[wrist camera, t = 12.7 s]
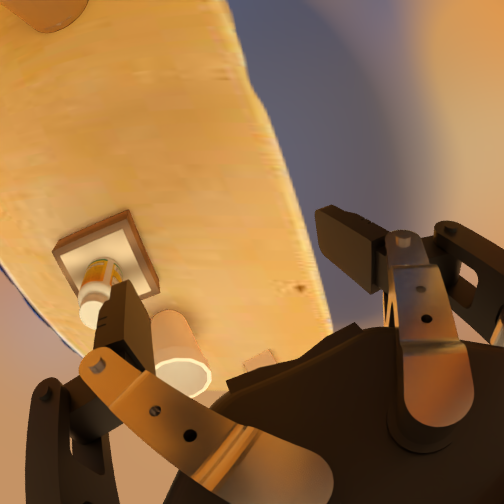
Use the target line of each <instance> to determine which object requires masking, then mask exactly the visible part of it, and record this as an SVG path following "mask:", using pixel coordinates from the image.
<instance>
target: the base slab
mask: <svg viewBox="0 0 504 504" xmlns="http://www.w3.org/2000/svg"><path fill="white" fill-rule="evenodd" d="M52 253H53V255H54V257H55V259H56V261H57V263H58V265H59V267H60V268H61V270H62V272H63V274H64V276H65V277H66V279H67V281H68V283H69V284H70V286H71V288H72V290H73V291H74V293H75V295H76V296H77V298H78V294H79V290H80V287H81V284H82V282H83V279H84V276H85V273H86V270H87V268H88V266H89V264H90V263H91V262H92V261H94V260H96V259H99V258H109V259H112V260H113V261H115V262H116V263H117V264H118V265H119V266H120V268H121V270H122V272H123V281H125V280H127V279H129V280H130V281H131V283H132V284H133V286H134V288H135V290H136V292H137V294H138V296H139V298H140V300H143V299H146V298H148V297H151V296H154V295H156V294H159V293H160V287H159V279H158V277H157V275H156V272H155V270H154V268H153V266H152V264H151V261H150V259H149V257H148V255H147V252H146V250H145V248H144V246H143V243H142V241H141V238H140V236H139V234H138V231H137V229H136V227H135V224H134V222H133V219H132V217H131V214H130V212H129V210H127V211H124V212H122V213H120V214H117V215H115V216H112V217H110V218H108V219H105V220H103V221H101V222H98V223H96V224H94V225H92V226H89V227H87V228H85V229H83V230H80V231H78V232H76V233H74V234H72V235H69V236H67V237H65V238H63V239H61V240H59V241H58V243H57V244H56V246H55V247H54V249H53V250H52Z"/></svg>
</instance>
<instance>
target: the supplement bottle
mask: <svg viewBox="0 0 504 504" xmlns="http://www.w3.org/2000/svg"><path fill="white" fill-rule="evenodd" d="M122 281H123V272H122V270H121V268H120V266H119V265H118V264H117V263H116V262H115V261H113V260H112V259H109V258H99V259H96V260H94V261H92V262H91V263H90V264H89V266H88V268H87V270H86V273H85V276H84V279H83V282H82V284H81V287H80V290H79V294H78V304H79V307H80V309H79V316H80V319H81V321H82V322H83V323H84V324H85V325H86V326H87V327H89V328H91V329H95V330H96V329H97V327H96V326H97V321H98V320H97V319H98V313H99V310H100V308H101V307H102V305H103V303H104V302H105V301H107V300H109V298H110V292H111V286H112V285H115V284H117V283H120V282H122Z"/></svg>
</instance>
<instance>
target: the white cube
mask: <svg viewBox="0 0 504 504" xmlns="http://www.w3.org/2000/svg"><path fill="white" fill-rule="evenodd" d="M243 363H244V365H245V367H246V370H247V372H249V371H252V370H254V369H257V368H259V367H264V366H269V365H273V364H277V363H276V361H275V360H274V358H273V356H272V354H271V353H270V351H269V349H268V350H266V351H264V352H263V353H261V354H259V355H257V356H255V357H253V358H251V359H249V360H247V361H245V362H243Z"/></svg>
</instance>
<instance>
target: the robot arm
mask: <svg viewBox="0 0 504 504" xmlns="http://www.w3.org/2000/svg"><path fill="white" fill-rule="evenodd" d="M87 2H88V0H0V3H1V4H2V5H4V6H5V7H6V8H8V9H9V10H10V11H12V12H13V13H14V14H16V15H17V16H18V17H20V18H21V19H22V20H24V21H25V22H26V23H27V24H29V25H30V26H31V27H33V28H34V29H35V30H37V31H39V32H43V33H50V32H54V31H57V30H60V29H62V28H64V27H66V26H67V25H69V24H70V23H72V22H73V21H74V20H75V19H76V18H77V17H78V16H79V15H80V14H81V13H82V11H83V10H84V8H85V6H86V5H87ZM315 221H316V229H317V236H318V243H319V247H320V250H321V252H322V253H323V255H324V256H325V257H326V258H328V259H329V260H330V261H331V262H332V263H334V264H335V265H336V266H337V267H339V268H340V269H341V270H342V271H343V272H344V273H346V274H347V275H348V276H349V277H350V278H352V279H353V280H354V281H355V282H356V283H357V284H359V285H360V286H361V287H362V288H363V289H364V290H366V291H367V292H368V293H369V294H373V293H375V292H377V291H379V290H380V289H382V290H383V314H384V315H383V316H384V327H373V328H368V329H363V330H362V329H361V328H360V327H359V326H358V325H357V324H356V323H355V322H354V323H352V324H350V325H348V326H346V327H344V328H343V329H341V330H339V331H337V332H335V333H333V334H331V335H329V336H327V337H325V338H324V339H323V340H322V341H320V342H319V343H318V344H317V345H315V346H314V347H313V348H312V349H310V350H309V351H308V352H306V353H305V354H304V355H303V356H301V357H300V358H298V359H295V360H291V361H287V362H282V363H278V364H273V365H269V366H264V367H259V368H257V369H254V370H252V371H249V372H247V373H244V374H242V375H239V376H237V377H234V378H232V379H229V380H226V383H227V386H228V388H229V391H228V392H227V393H225V394H224V395H223V396H221V397H220V398H219V399H218V400H216V402H215V403H213V405H211V407H210V408H207V407H205V406H203V405H202V404H200V403H198V402H197V401H195V400H193V399H192V398H190V397H188V396H187V395H185V394H183V393H182V392H180V391H178V390H177V389H175V388H173V387H172V386H170V385H169V384H167V383H166V382H164V381H163V380H161V379H159V378H158V377H156V371H155V362H154V353H153V344H152V333H151V322H150V318H149V315H148V313H147V311H146V309H145V307H144V305H143V303H142V301H141V300H140V298H139V296H138V294H137V292H136V290H135V288H134V286H133V284H132V283H131V281H130V280H129V279H127V280H125V281H122V282H120V283H117V284H115V285H112V286H111V292H110V298H109V300H107V301H105V302H104V303H103V305H102V307H101V308H100V310H99V313H98V319H97V320H98V321H97V326H96V327H97V329H96V332H95V339H94V347H93V350H92V351H91V352H89V353H88V354H87V355H86V356H85V357H84V358H83V360H82V361H81V363H80V366H79V376H77V377H76V378H74V379H72V380H71V381H69V382H68V383H66V384H64V385H62V383H61V382H60V381H59V380H58V379H56V378H53V377H51V378H47V379H45V380H43V381H42V382H40V383H39V384H38V386H37V387H36V388H35V390H34V392H33V394H32V398H31V405H30V413H29V421H28V431H27V442H26V463H25V492H26V504H120V503H119V497H118V492H117V488H116V482H115V476H114V470H113V464H112V457H111V450H110V442H109V433H108V432H110V431H111V430H113V429H115V428H116V427H118V426H119V425H121V424H123V423H124V424H125V425H126V426H128V428H130V429H131V430H132V431H133V432H134V433H135V434H136V435H137V436H138V437H140V438H141V439H142V440H143V441H144V442H145V443H147V444H148V445H149V446H150V447H151V448H152V449H154V450H155V451H156V452H157V453H159V454H160V455H161V456H162V457H164V458H165V459H166V460H168V461H169V462H170V463H171V464H173V465H174V466H175V467H177V468H178V469H179V470H178V472H177V474H176V477H175V479H174V481H173V483H172V485H171V487H170V490H169V492H168V494H167V496H166V498H165V500H164V502H163V504H504V249H502V248H501V247H499V246H497V245H496V244H494V243H492V242H491V241H489V240H487V239H486V238H484V237H482V236H481V235H479V234H477V233H475V232H474V231H472V230H470V229H468V228H467V227H464V226H463V225H461V224H459V223H457V222H453V221H441V222H438V223H436V225H435V226H434V235H433V236H429V237H424V238H421V237H420V236H419V235H418V234H417V233H415V232H412V231H409V230H395V231H392V232H389V231H387V230H386V229H384V228H382V227H380V226H378V225H376V224H375V223H373V222H372V223H371V221H369V220H367V219H365V218H364V217H362V216H360V215H358V214H355V213H351V212H347V211H344V210H342V209H340V208H338V207H336V206H334V205H329V206H326V207H324V208H321V209H318V210H316V211H315ZM462 262H463V263H465V264H466V265H467V266H469V267H470V268H472V269H473V270H474V271H475V272H476V273H477V276H478V285H477V288H476V287H475V286H473V285H472V284H471V283H469V282H468V281H467V280H465V279H464V278H463V277H461V276H460V275H459V273H460V268H461V263H462ZM451 309H452V310H453V311H454V312H455V313H456V314H457V315H458V316H460V317H461V318H462V319H463V320H464V321H465V322H466V323H468V324H469V325H470V326H471V327H472V328H473V329H474V330H475V331H477V333H479V334H480V335H481V336H482V337H483V338H484V339H485V340H486V341H487V342H488V343H489V344H490V345H488V344H482V343H476V342H470V341H464V340H459V338H458V334H457V329H456V326H455V321H454V317H453V313H452V310H451ZM70 437H71V438H72V452H73V455H72V454H71V451H70Z"/></svg>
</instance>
